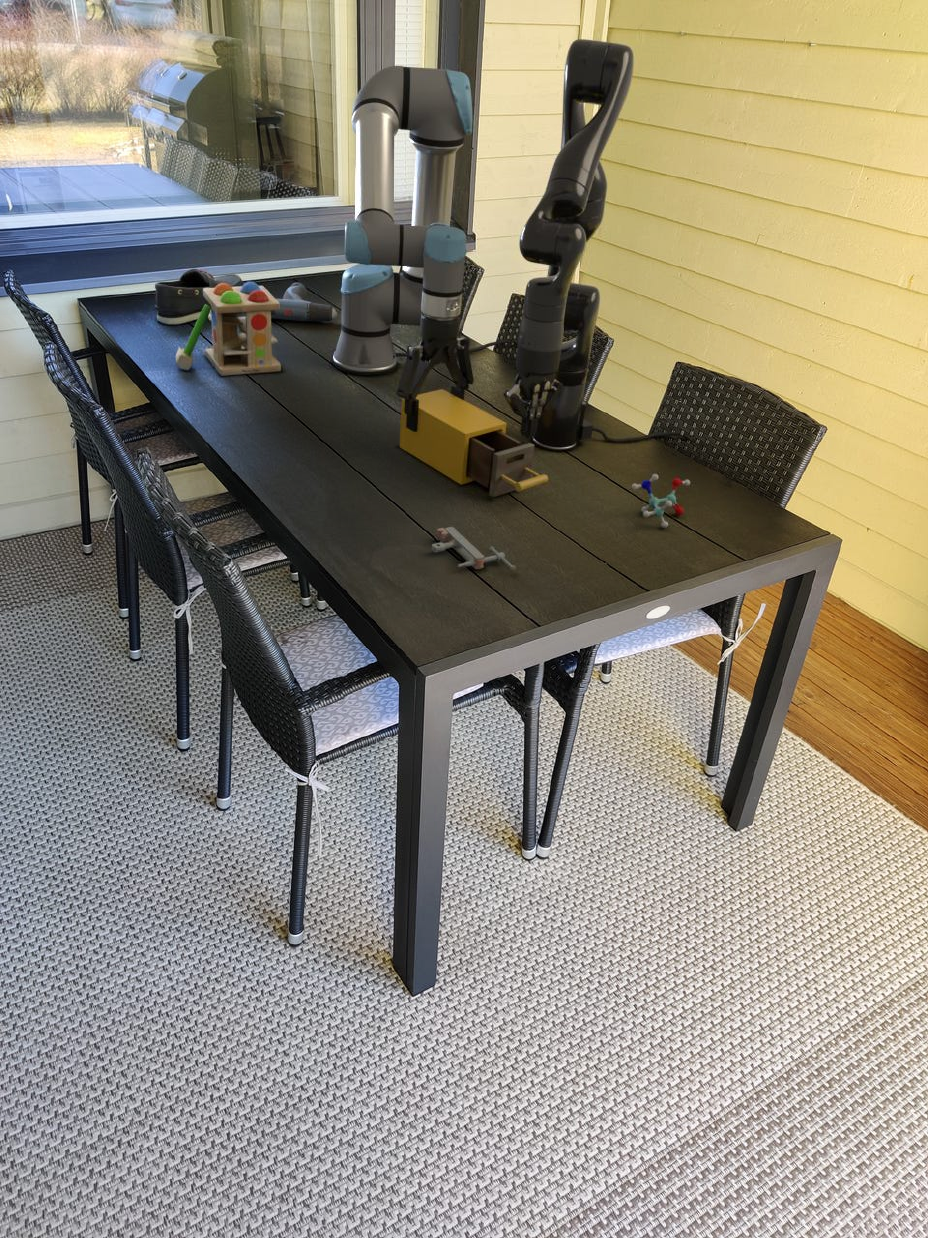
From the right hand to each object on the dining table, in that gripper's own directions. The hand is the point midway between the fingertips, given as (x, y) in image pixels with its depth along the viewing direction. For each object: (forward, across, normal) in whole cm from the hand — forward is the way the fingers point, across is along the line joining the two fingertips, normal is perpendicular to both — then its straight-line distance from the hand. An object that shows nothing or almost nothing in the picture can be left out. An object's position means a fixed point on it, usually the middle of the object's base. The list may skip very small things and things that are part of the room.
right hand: (527, 435), depth 178 cm
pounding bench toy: (+13, -13, +88) cm, 90 cm away
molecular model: (+13, +18, -18) cm, 29 cm away
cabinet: (+13, 0, +21) cm, 25 cm away
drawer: (+12, 0, +9) cm, 15 cm away
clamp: (+13, -22, -11) cm, 28 cm away
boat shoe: (+13, +2, +127) cm, 128 cm away
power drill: (+13, +25, +113) cm, 116 cm away
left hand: (+8, 0, +27) cm, 28 cm away
